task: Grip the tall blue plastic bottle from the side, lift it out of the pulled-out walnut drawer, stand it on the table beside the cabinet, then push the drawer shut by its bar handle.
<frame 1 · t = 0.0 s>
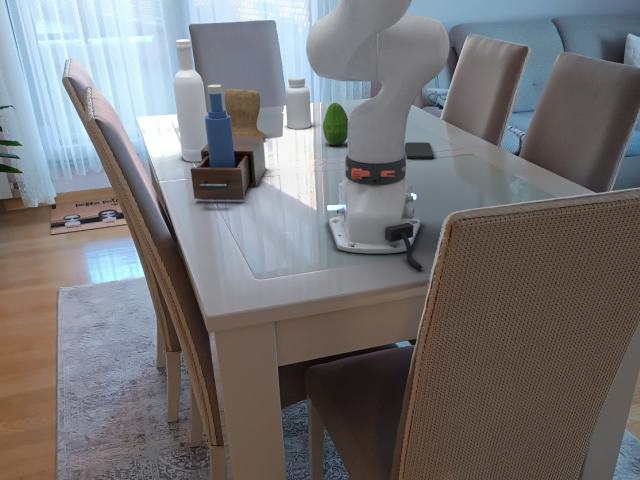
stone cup: (240, 140, 196), on the table
cabinet: (236, 177, 163), on the table
phone: (418, 152, 183), on the table
pill bottle: (299, 127, 212), on the table
bottle: (224, 185, 150), point 2 cm above the table, touching drawer
bottle 2: (197, 159, 179), on the table
drawer: (222, 177, 148), point 4 cm above the table, slide at 11.0 cm, touching bottle
avocado: (336, 145, 191), on the table
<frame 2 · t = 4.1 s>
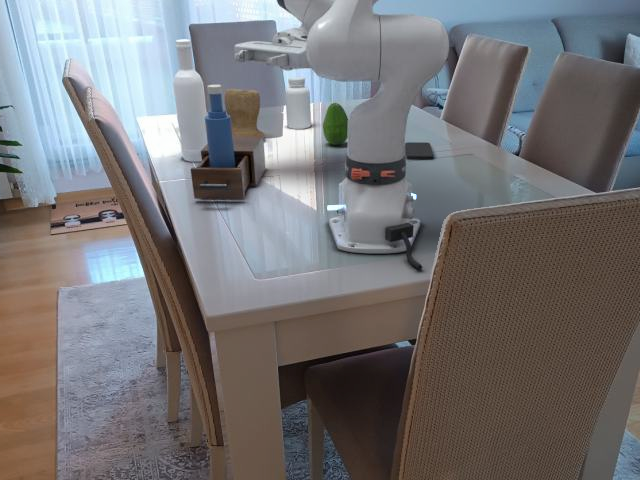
hand: (253, 60, 146), 28 cm above the table, tool horizontal, fingers open, 8 cm apart
nothing on the table moved.
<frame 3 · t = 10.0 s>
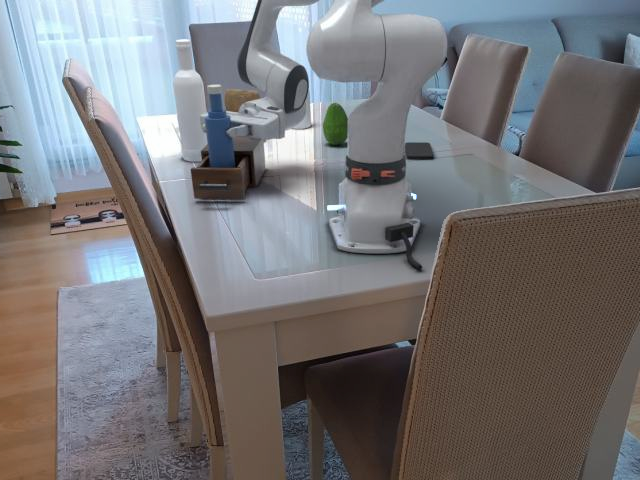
hand: (216, 131, 143), 15 cm above the table, tool horizontal, fingers closed on bottle, 6 cm apart
bottle: (224, 185, 150), point 2 cm above the table, touching drawer, gripper
everything else where it was.
when the fingers open (12 cm above the table, at t = 19.0 s): bottle stays where it is, on the table.
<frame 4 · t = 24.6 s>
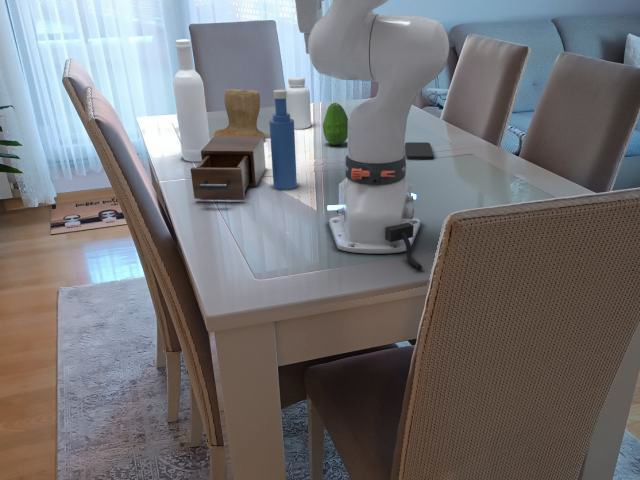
hand: (312, 51, 150), 29 cm above the table, tool pointing down, fingers open, 8 cm apart
bottle: (285, 186, 156), on the table
drawer: (222, 177, 148), point 4 cm above the table, slide at 11.0 cm
everything else where it was.
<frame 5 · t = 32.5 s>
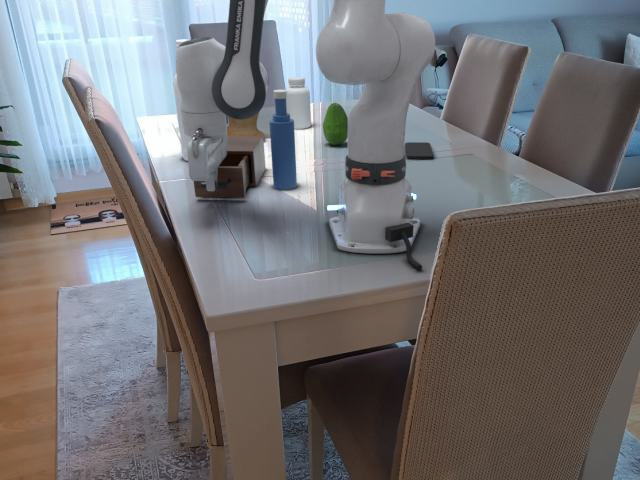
hand: (212, 189, 139), 5 cm above the table, tool pointing down, fingers closed
drawer: (223, 176, 149), point 4 cm above the table, slide at 9.9 cm, touching gripper
everything else where it was.
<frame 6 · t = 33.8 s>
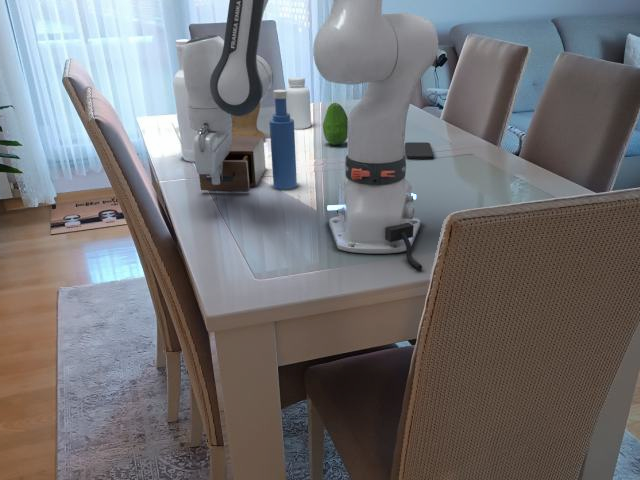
hand: (217, 182, 144), 4 cm above the table, tool pointing down, fingers closed
drawer: (227, 170, 153), point 4 cm above the table, slide at 4.8 cm, touching gripper
everything else where it was.
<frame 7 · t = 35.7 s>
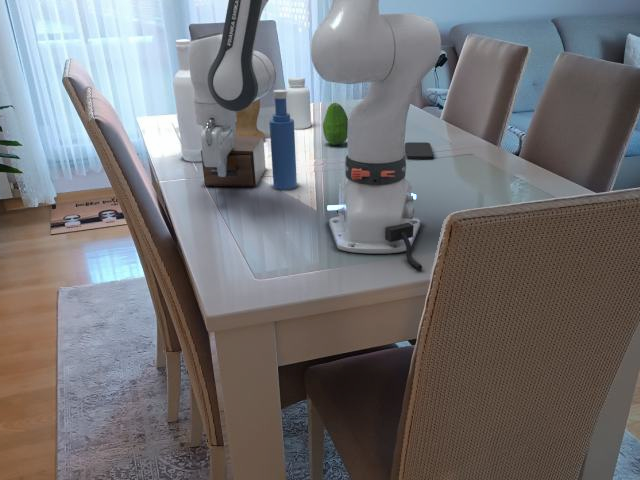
hand: (222, 176, 149), 4 cm above the table, tool pointing down, fingers closed, pressing on drawer
drawer: (231, 164, 157), point 4 cm above the table, slide at 0.0 cm, touching cabinet, gripper
everything else where it was.
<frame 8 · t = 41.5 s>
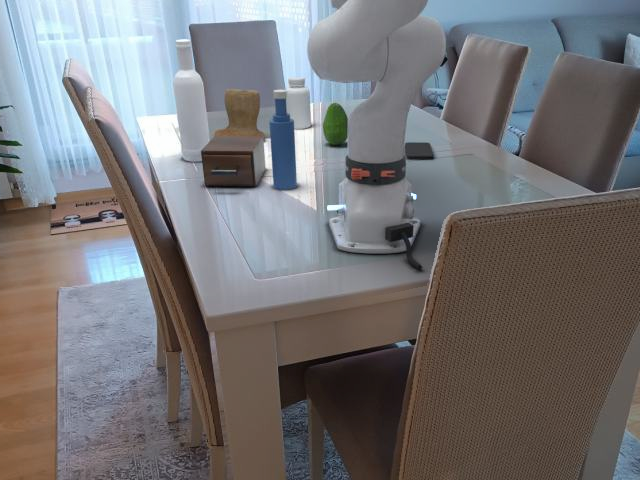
hand: (342, 28, 143), 34 cm above the table, tool pointing down, fingers closed
drawer: (231, 164, 157), point 4 cm above the table, slide at 0.0 cm
everything else where it was.
at the end: bottle inside the target area (0.1 cm from its centre), on the table; bottle tilted 0°; drawer slide at 0.0 cm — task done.
